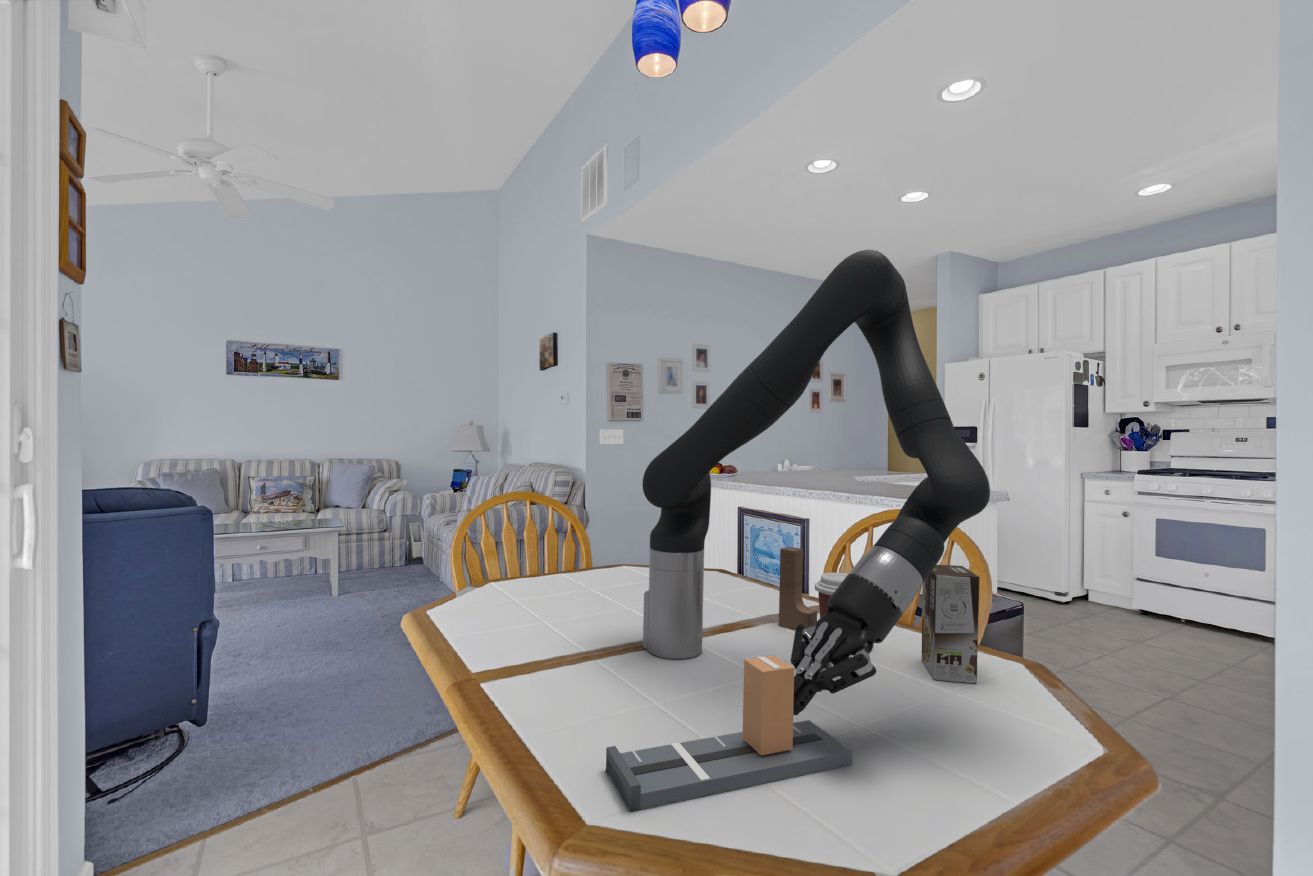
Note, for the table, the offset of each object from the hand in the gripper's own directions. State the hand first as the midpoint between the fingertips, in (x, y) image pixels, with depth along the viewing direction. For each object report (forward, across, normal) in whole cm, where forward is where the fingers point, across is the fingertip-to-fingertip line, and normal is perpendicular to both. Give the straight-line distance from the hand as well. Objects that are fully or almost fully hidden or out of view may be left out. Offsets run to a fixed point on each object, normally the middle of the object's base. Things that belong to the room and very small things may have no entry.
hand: (787, 708), depth 71 cm
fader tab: (+4, 0, +1) cm, 4 cm away
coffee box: (-24, -14, +32) cm, 42 cm away
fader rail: (+9, 0, -1) cm, 9 cm away
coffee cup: (-18, -30, +26) cm, 43 cm away
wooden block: (-17, -41, +25) cm, 51 cm away
